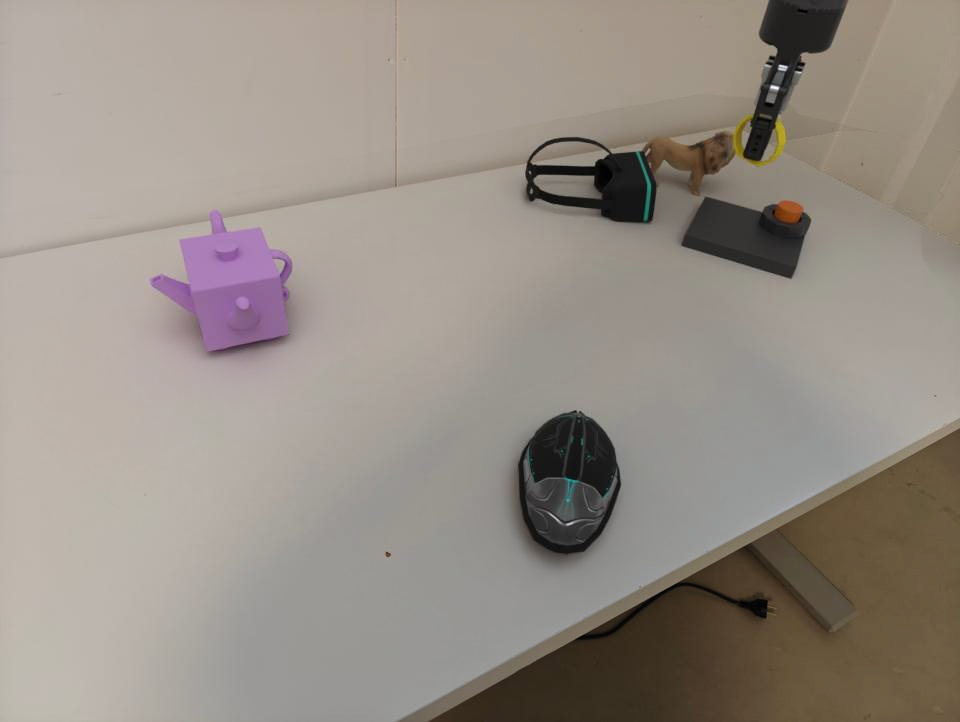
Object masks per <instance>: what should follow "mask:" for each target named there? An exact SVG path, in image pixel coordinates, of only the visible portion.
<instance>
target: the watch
mask: <svg viewBox="0 0 960 722" xmlns="http://www.w3.org/2000/svg"><path fill="white" fill-rule="evenodd" d="M753 115H754V113H752V114H749V115H747V116H746V117H744V118H743V119H742V120H740V121H739V123H738V124H737V126H736V127H735V130H734V132H733V134H734V136H733V145H734V146H733V147H734V149H735V152H736V153H735V155H736V157H737V158H740V159H742V160H744V161H746V162H748V163H750V164H752V165H753V166H755V167H756V168H758V167H763V166H766V165H769V164H771V163H773V162H775V161H776V160H777V159H778V158H779V157H780V156H781V154H782V153H783V151H784V149H785V146H786V142H787V137H786V130H785V127H784V125H783V123H782V121H781V120H782V114H781V115H780V114H779V116H778V119H777V121H776V128H775V129H774V131H775V133H776V143H777V144H776V146H775V148H774V152H773V154H772V155H771V156H770V157H769V158H768V159H767V160H766V159H765V160H760V161H753V160H749V159H746V158H744V157H743V152H744V149H745V147H744V146H743V143H742V141H743V131H744V129H745V127H746V125H747V124H748V123H750V121H751V119H753ZM759 117H763V118H768V119H772V117H771V116H768V115H764V114H760V116H759Z"/></svg>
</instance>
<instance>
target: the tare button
mask: <svg viewBox="0 0 960 722" xmlns="http://www.w3.org/2000/svg"><path fill="white" fill-rule="evenodd" d="M777 204H778V205H777V208H776V210H775V213H774V217H775V218H777V219H779V220H781V221H784V222H788V223H797V222H798V221H799V219H800V217H801V214H802V212H804V206H802V205H801V204H800V203H798V202H796V201H793V200H788V199H787V200H785V199H784V200H780V201H779V202H778V203H777Z"/></svg>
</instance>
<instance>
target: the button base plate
mask: <svg viewBox="0 0 960 722" xmlns="http://www.w3.org/2000/svg"><path fill="white" fill-rule="evenodd" d="M777 205H778V203H771V204H769V205H766V206H764V207H763V210H762V211H760V210H756V209H753V208H750V207H746V206H742V205H739V204H735V203H731V202H727V201H724V200H721V199H717V198H714V197H709V196H704V198H703V200H702V201H701V204H700V205H699V207H698V209H697V210H696V212H695V215H694V217H693V218H692V221H691V222H690V224H689V226H688V227H687V229H686V231H685V233H684V236H683V239H682V242H681V247H682V248H686V249H690V250H693V251H695V252H701V253H702V254H707V255H709V256H714V257H716V258H720V259H723V260H726V261H730V262H734V263H736V264H739V265H744V266H747V267H750V268H753V269H757V270H760V271H762V272H766V273H770V274H773V275H776V276H780V277H782V278H783V277H784V278H787V279H790V280H792V279H793V276H794V274H795V271H796V270H797V267H798V263H799V261H800V256H801V252H802V248H803V245H804V241H805V237H806V235H807V233H808V231H809V229H810V226H811V223H812V218H811V217H810V216H809V215H808V213H807V212H805V211H803V212H802V214H801V217H800V219H799V221H798V222H797V223H788V222H784V221H781V220H779V219H777V218H775V217H774V213H775V210H776V208H777Z"/></svg>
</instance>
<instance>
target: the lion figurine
mask: <svg viewBox="0 0 960 722" xmlns="http://www.w3.org/2000/svg"><path fill="white" fill-rule="evenodd" d="M733 136H734V133H732V132H731V131H729V130H723V131H718V132H715V134H714V135H713V136H711V137H708V138H707V139H704V140H703V139H702V140H700V141H699V142H696V143H694V144H690V145H689V144H687V145H686V144H683V143H680V142H676V141H675V140H673V139H671V138H669V137H666V136H659V137H655V138H652V139H650V140H648V142H647V143H646V144H645V145H644V146H643V148H642V149H641V151H644V153H645V156H646V158H647V161H648V163H649V164H650V169H651V171H652V174H653V176H654V177H655V176H656V173H657V172H658V170H659V169H660V167H662V164H663V162H664V161H665V162H666V163H667V164H668V165H669V166H670V167H672V168H673V169H675V170H677V171H681V172H689V173H690V176H689V178H688V181H687V182H688V186H689V187H690V190H691V191H690V193H691V194H692V195H693V196H695V197H699V196H700V195H701V191H700V190H698V189H699V186H700V185H701V183H702V181H703V179H704V176H707V175H712V176H714V175H715V174H718V173H719V172H720V171H721V170H722V169H723V168H725V167H726V166H728V165H729V164H730V163H731V162H732V160H733V159H734V158H735V155H736V152H735V149H734V147H733V146H734V145H733ZM649 149H650V150H649ZM648 150H649V152H648ZM647 152H648V153H647ZM646 153H647V154H646ZM655 181H656V185H657V188H659V186H660V183H659V181H657V180H655Z"/></svg>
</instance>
